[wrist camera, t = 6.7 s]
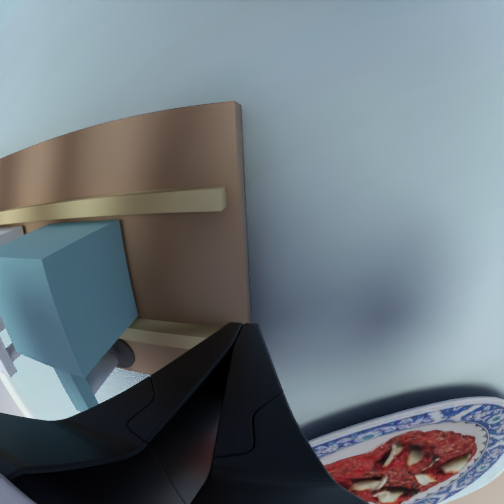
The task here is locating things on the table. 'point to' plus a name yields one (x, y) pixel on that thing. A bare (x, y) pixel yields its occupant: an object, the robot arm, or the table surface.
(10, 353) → the fixed leg
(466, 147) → the table surface
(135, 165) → the board
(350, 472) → the ceramic plate
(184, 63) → the table surface
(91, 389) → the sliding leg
